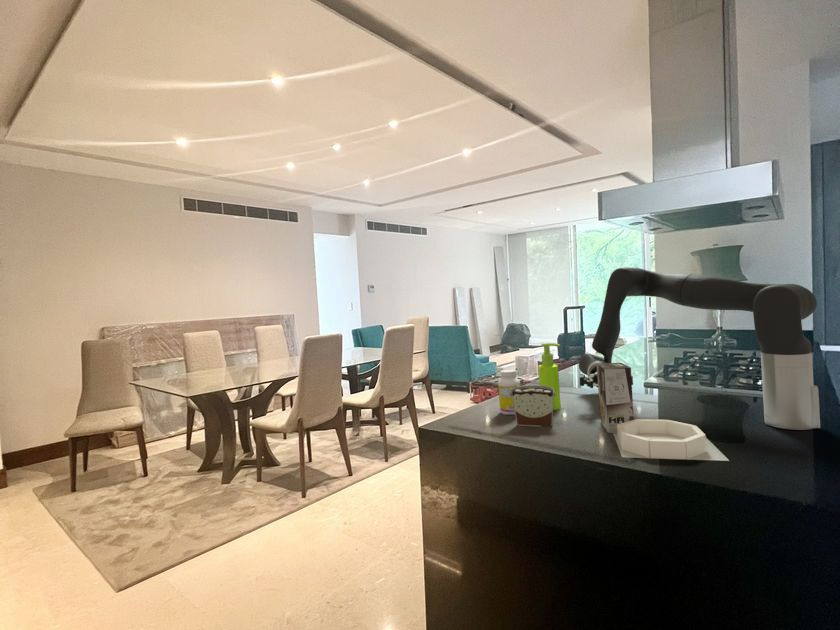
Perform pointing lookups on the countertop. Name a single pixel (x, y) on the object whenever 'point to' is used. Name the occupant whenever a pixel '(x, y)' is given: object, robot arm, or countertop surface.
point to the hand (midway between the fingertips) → (608, 384)
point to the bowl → (661, 438)
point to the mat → (709, 455)
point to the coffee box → (614, 395)
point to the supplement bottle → (507, 391)
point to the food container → (533, 405)
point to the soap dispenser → (550, 373)
